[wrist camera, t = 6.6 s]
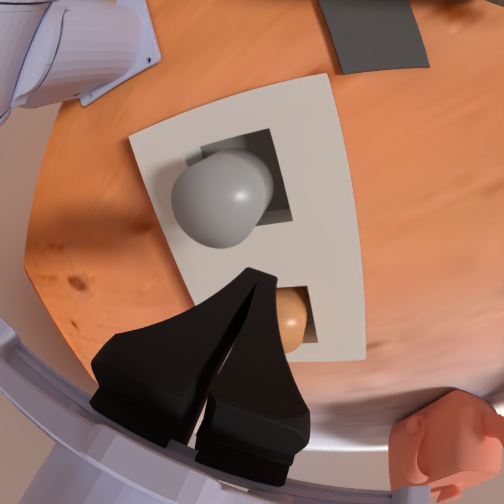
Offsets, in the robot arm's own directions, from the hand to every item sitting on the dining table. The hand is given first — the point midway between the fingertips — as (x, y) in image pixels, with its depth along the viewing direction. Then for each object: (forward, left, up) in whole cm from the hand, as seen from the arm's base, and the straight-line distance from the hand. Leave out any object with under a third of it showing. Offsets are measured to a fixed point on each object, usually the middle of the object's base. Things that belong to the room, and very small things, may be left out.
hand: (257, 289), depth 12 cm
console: (-3, -3, -10) cm, 11 cm away
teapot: (+19, -31, -11) cm, 38 cm away
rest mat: (+8, +11, -10) cm, 17 cm away
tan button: (-3, -8, -9) cm, 13 cm away
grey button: (-3, +3, -7) cm, 8 cm away
